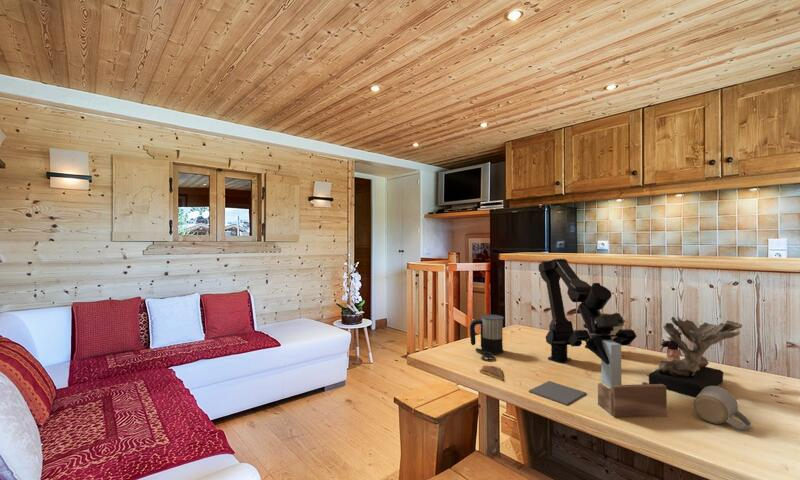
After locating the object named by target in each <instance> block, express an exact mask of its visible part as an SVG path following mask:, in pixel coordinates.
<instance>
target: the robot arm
mask: <svg viewBox="0 0 800 480" xmlns="http://www.w3.org/2000/svg"><path fill="white" fill-rule="evenodd" d="M538 271H539V273H540V278H541V279H542V280H543V281H544V282H545V283H546V287H547V294H548V302H549V306H550V314H551V319H552V320H551V322H550V323H549V325H548V327H549V331H548V333H547V334H546V335H545V341H546V343H547V344H548V345H550V346H551V353H550V354H551V355H550V356H548V357H547V360H550V361H555V362H558V363H562V364H565V363H566V362H569V361H571V360H572V358H571V357H568V346H571V347H581V345H582V344H583V342H585V345H584V348H585V349H588V350H589V351H590V352H592V353H594V354H595V356H597V357H598V358H599V359H600V360H601V359H602V360H603V361H604V362H605V363H606V364H609V363H610V362H609V359H608V357H607V355H606V353H605V351H604V348H603V346H602V343H601V340H612V341H614V342H616V343H619V344H621V347H622V346H623V347H624V346H629V345H631V344H632V342H633V341H634V340H635V339H636V338H637V336H638V335H637V334H636V332H635V331H634V329H632V328H623V329H620V330H619V331H618V332H617V333H616V334H611V333H610V332H611V331H613V330H614V328H613V327H615V326H619V324H622V323H623V320H624V318H623V319H622V317H623V316H622V315H621V314H620V312H615V313H610V314H611V315H602V314H601V313H602V312H601V310H603V309H604V308H605V306H606V304H607V303H608V302H609V300H610V299H611V298H612V292H611V290H610V289H608V288H607V287H605V286H603V285H601V283H600V282H593V283H592V284H591V285H590V284H589V283H588V282H586V281H584V280H582V279H580V277H579V276H578V275H577V274H576V273H575V271H574V270H573V269H572V266H571V265H570V264H569V261H568V260H567V259H565V258H554V259H551V260H542V261H541V263H539V264H538ZM560 280H562V282H563V283H564V284H565V286H566V287H567V293H566V294H567V295H568V298H569V299H570V301H571V302H573V303H580V304H579V305H578V307H577V310H576V314H578V315H579V314H580V316H581V317H582V320H583V323H584V324H583V326H582V327H583V328H584V329H574V327H573V322H572V321H571V320H569V319H567V317H566V311H565V307H564V301H563V295H562V291H561V290H562V288H561V286H560V285H561V284H560Z"/></svg>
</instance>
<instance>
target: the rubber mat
mask: <svg viewBox="0 0 800 480" xmlns="http://www.w3.org/2000/svg"><path fill="white" fill-rule="evenodd" d="M528 392H529V393H531V394H533V395H537V396H539V397H542V398H545V399H548V400H550V401H552V402H556V403H558V404H562V405H565V406H568V405H570V404H572V403H574V402H575V401H578V399H580V398H582V397H584V396H586V395H587V392H585V391H583V390H580V389H576V388H572V387H570V386H567V385H564V384H560V383H557V382H555V381H551V380H548V381H545V382H544V383H541V384H540V385H538V386H535V387H533V388H531V389H529V390H528Z"/></svg>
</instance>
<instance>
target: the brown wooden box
mask: <svg viewBox="0 0 800 480" xmlns="http://www.w3.org/2000/svg"><path fill="white" fill-rule="evenodd" d="M667 391H668V390H667V386H665V385H663V384H649V382H646V381H644V382H642V384H621V385H611V388H609V387H607V386H606V385H604V384H603V383H601V382H598V383H597V405H598V406H599V407H601V409H603V411H606V412H607V413H608V414H609V415H611V416H612V417H613V418H614V419H615V418H616V419H618V418H619V419H621V418H655V417H656V418H660V417H661V418H662V417H663V418H664V417H668V416H667V415H668V411H667V409H668V408H667V407H668V406H667V405H668V404H667V401H668V397H667V395H668V393H667Z"/></svg>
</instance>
